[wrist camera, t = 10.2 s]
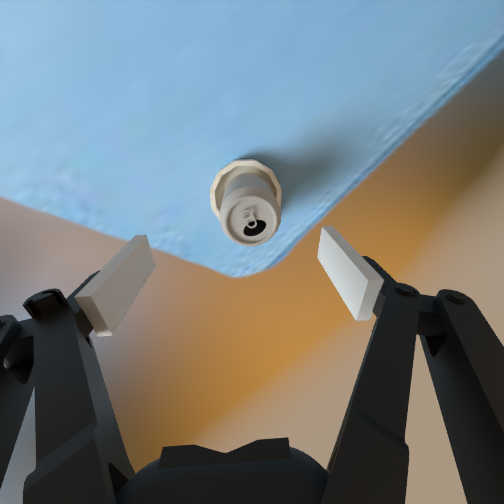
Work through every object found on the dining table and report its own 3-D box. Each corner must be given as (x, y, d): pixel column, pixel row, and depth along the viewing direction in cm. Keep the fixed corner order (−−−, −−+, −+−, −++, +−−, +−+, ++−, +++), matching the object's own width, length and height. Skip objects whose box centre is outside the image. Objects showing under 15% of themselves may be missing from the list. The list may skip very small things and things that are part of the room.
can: (239, 225, 37) (238, 261, 26) (215, 186, 33) (204, 210, 23) (278, 205, 35) (293, 235, 25) (258, 162, 32) (266, 176, 21)
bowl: (208, 159, 32) (206, 161, 30) (280, 158, 32) (282, 159, 30) (215, 226, 37) (214, 232, 35) (277, 224, 38) (279, 229, 36)
